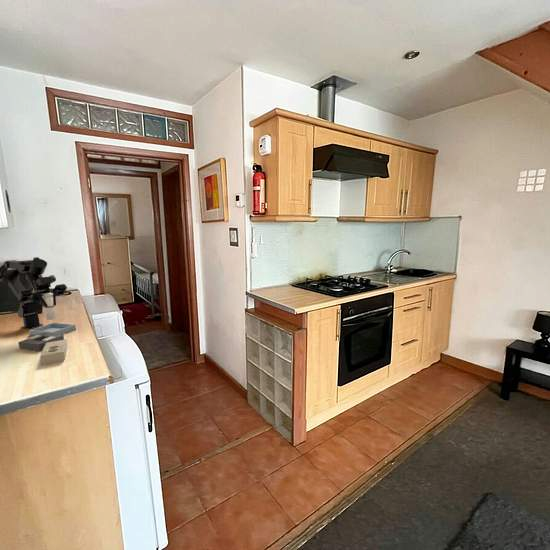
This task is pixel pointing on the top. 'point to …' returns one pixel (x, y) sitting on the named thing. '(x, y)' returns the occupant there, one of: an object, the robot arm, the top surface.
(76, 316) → the top surface
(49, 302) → the light bulb
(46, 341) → the socket block
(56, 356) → the electrical outlet
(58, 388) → the top surface
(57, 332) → the parts tray
